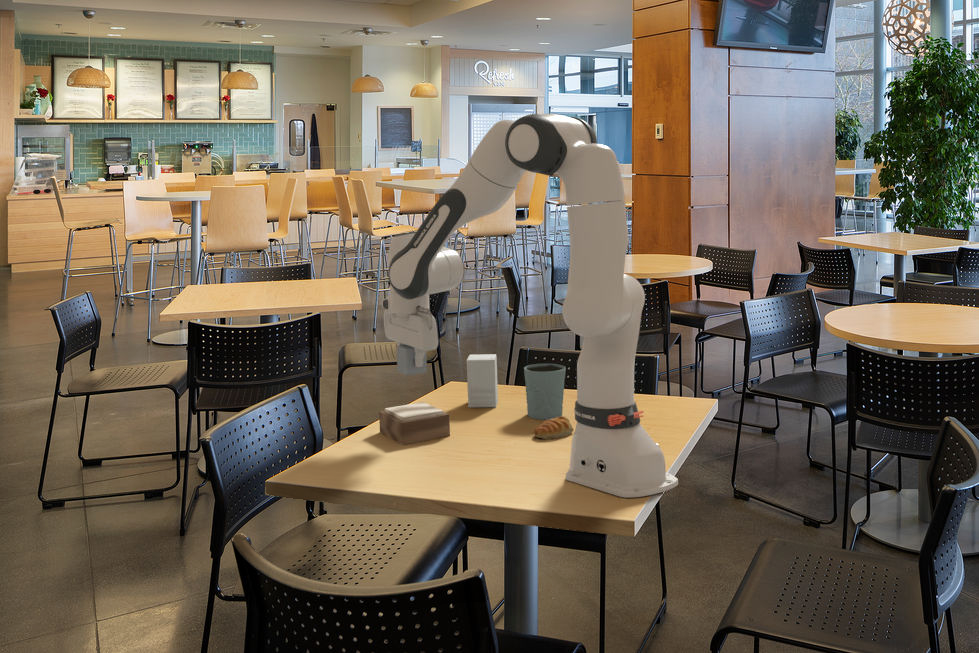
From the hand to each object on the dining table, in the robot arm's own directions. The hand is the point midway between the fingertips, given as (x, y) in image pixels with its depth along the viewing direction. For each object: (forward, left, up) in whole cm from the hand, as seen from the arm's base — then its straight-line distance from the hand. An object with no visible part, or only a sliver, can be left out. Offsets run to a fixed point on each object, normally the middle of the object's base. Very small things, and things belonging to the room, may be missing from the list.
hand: (411, 364), depth 203 cm
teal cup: (-4, -34, -17) cm, 38 cm away
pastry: (-19, -26, -17) cm, 36 cm away
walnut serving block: (0, 0, -17) cm, 17 cm away
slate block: (0, 0, -2) cm, 2 cm away
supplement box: (+14, -27, -17) cm, 35 cm away
